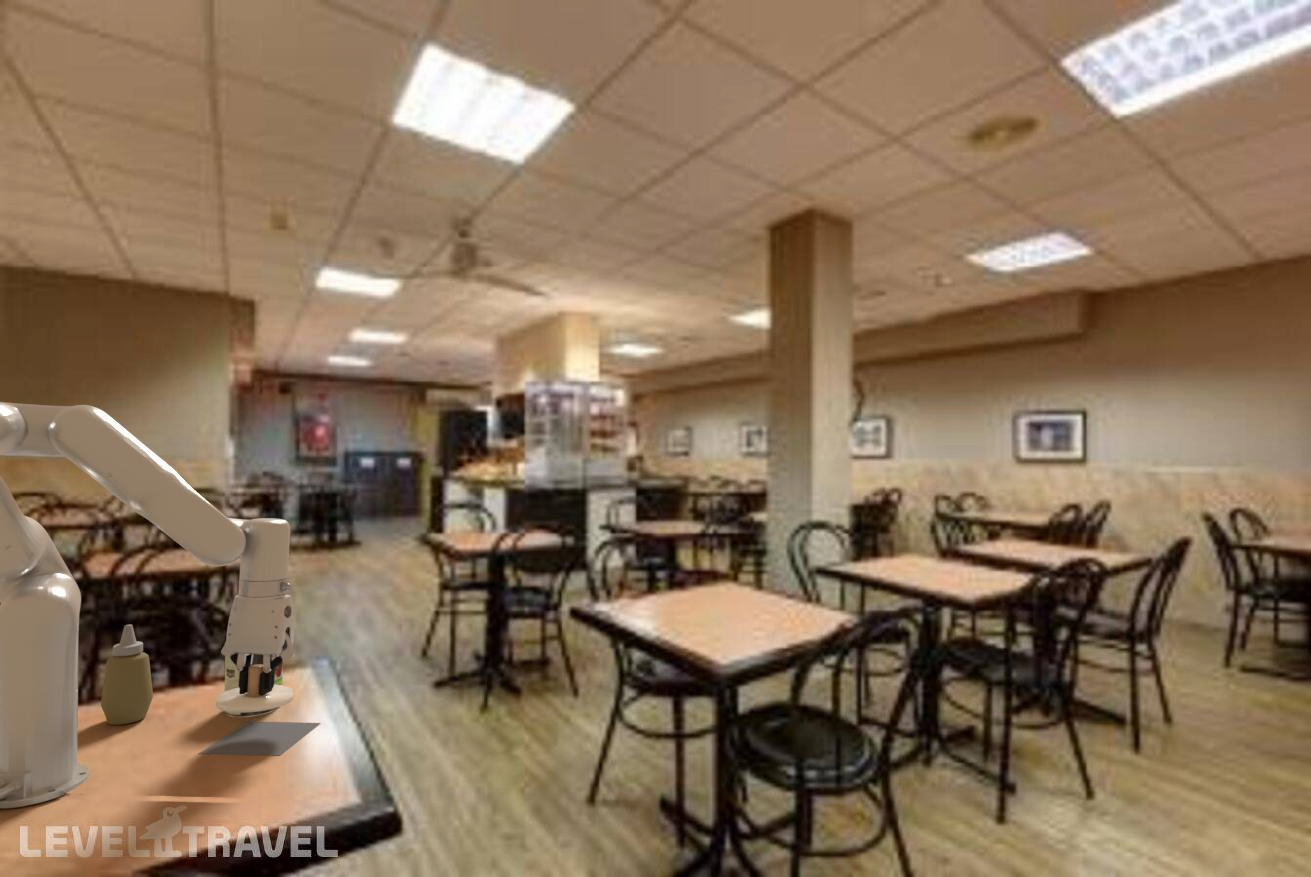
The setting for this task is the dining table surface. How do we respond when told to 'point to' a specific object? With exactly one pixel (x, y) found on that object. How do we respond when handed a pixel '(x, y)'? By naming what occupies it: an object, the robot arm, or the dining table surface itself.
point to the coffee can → (233, 682)
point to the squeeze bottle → (127, 681)
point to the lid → (254, 695)
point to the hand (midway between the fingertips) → (255, 691)
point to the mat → (261, 738)
